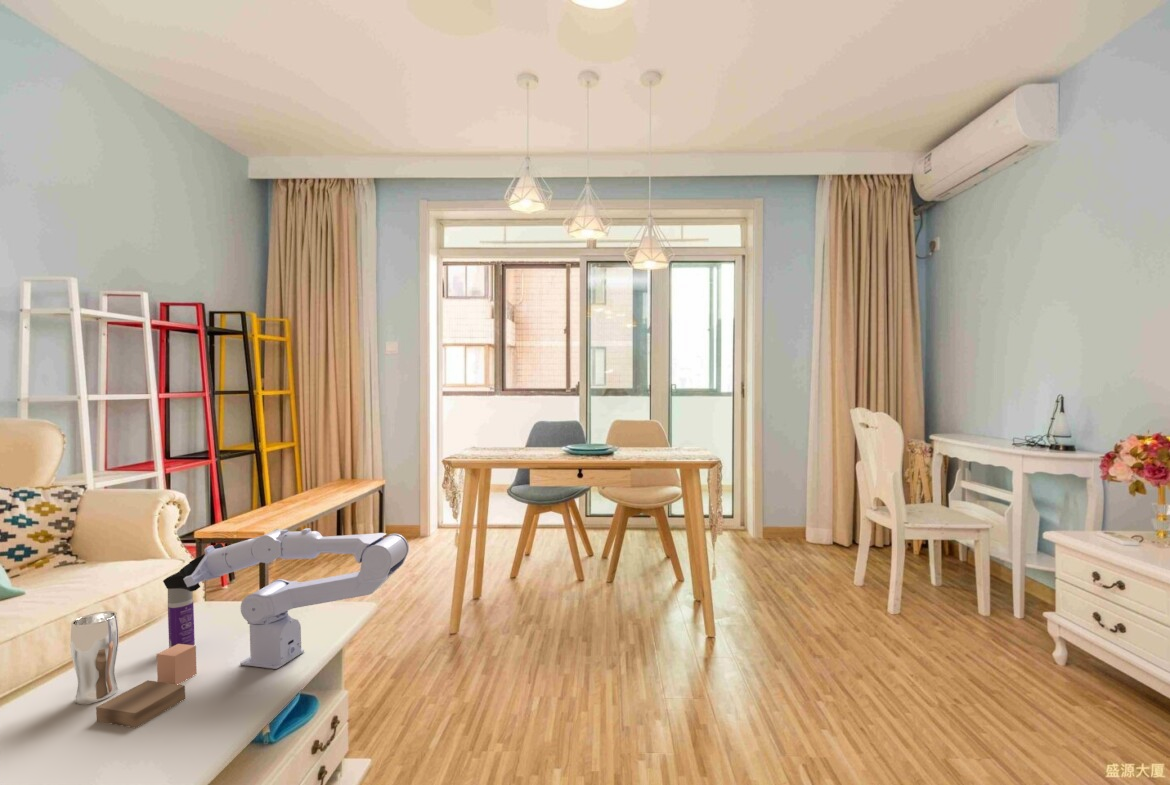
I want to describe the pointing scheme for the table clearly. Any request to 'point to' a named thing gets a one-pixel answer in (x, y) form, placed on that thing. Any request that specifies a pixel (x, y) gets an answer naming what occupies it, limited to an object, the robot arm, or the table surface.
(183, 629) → the container
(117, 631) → the beer glass
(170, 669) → the terracotta block
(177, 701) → the walnut base
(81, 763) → the table surface
